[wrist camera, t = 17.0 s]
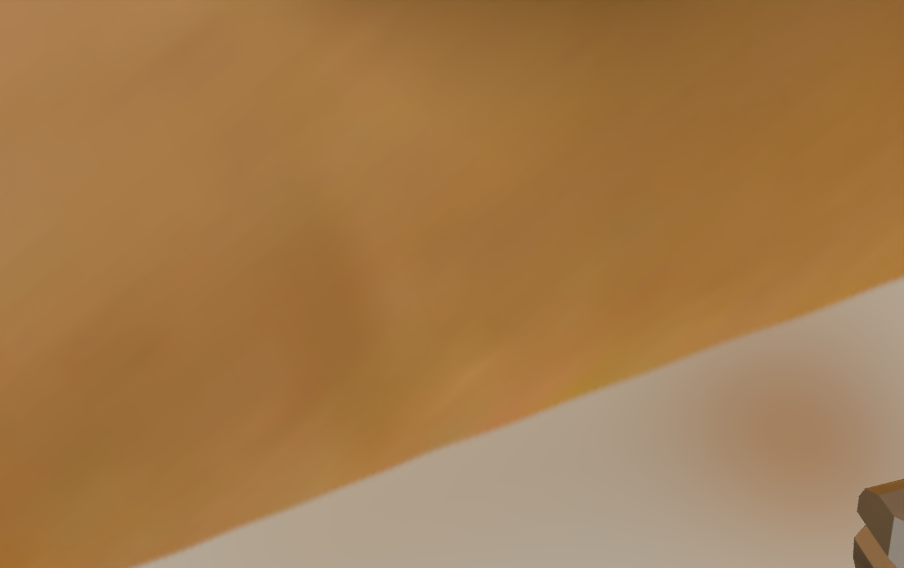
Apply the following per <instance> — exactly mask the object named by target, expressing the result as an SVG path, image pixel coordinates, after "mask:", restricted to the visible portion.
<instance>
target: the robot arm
mask: <svg viewBox="0 0 904 568" xmlns="http://www.w3.org/2000/svg"><path fill="white" fill-rule="evenodd" d="M857 512H858V514H859V515H860V517H861V518H862V520H863V521H864V523H865V524H866V525H865V526H864V527H863V528H862V529H861V531H860V532H859V533H858V534H857V535H856V536H855V537H854V549H853V560H854V564H855V568H904V479H902V480H898V481H894V482H890V483H886V484H882V485H878V486H874V487H870V488H865V489H864V490H863V492H862V493H861V494H860V495H859V500H858V507H857Z"/></svg>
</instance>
